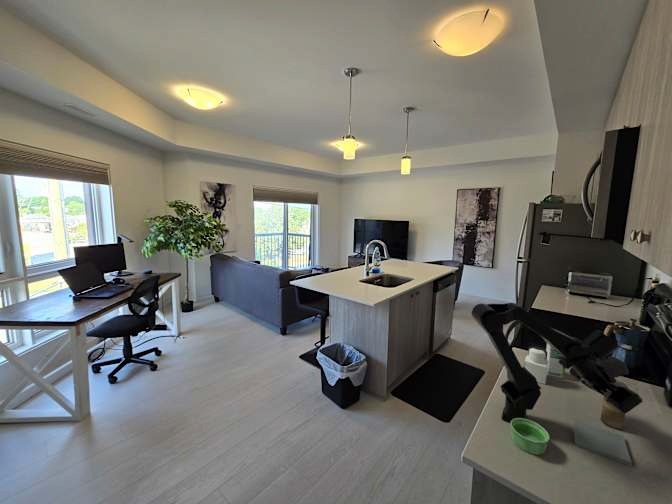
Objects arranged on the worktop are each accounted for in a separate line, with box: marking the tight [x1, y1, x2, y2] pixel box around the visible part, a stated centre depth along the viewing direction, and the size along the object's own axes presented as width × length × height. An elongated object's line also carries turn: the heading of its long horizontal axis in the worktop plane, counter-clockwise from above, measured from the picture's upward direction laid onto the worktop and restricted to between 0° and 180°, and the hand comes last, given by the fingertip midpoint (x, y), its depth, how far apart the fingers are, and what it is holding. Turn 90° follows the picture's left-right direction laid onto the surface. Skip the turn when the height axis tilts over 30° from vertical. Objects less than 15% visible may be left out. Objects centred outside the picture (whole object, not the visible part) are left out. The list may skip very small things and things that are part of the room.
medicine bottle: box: [523, 345, 548, 385], centre depth 110 cm, size 7×7×12 cm
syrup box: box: [545, 342, 567, 380], centre depth 113 cm, size 6×6×14 cm
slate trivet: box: [572, 418, 633, 467], centre depth 79 cm, size 11×11×1 cm
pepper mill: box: [600, 380, 628, 430], centre depth 85 cm, size 5×5×13 cm
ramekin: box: [509, 418, 550, 456], centre depth 78 cm, size 9×9×4 cm
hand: (619, 403), depth 85 cm, fingers closed on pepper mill, 5 cm apart
